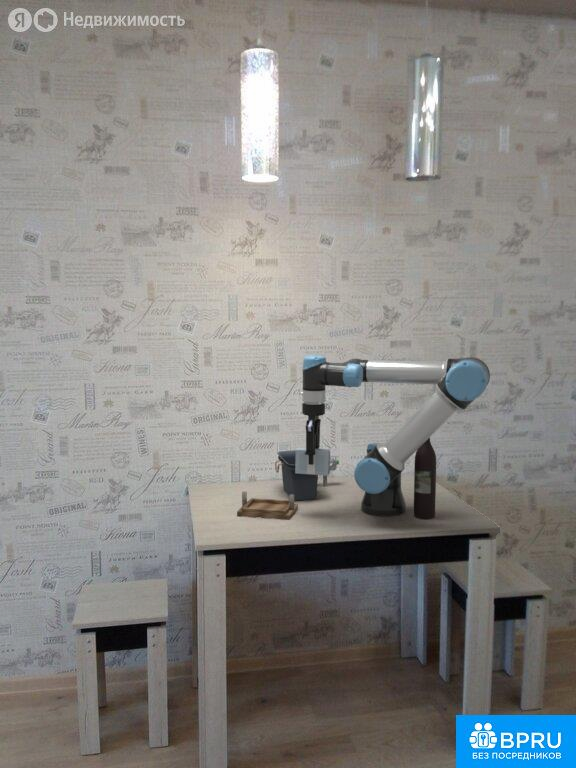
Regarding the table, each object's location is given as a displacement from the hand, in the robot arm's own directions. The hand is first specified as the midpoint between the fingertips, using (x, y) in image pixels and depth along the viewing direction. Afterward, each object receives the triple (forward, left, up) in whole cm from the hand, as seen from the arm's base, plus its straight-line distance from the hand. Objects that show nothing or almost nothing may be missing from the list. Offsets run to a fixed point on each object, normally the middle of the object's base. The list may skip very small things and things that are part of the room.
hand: (312, 471), depth 250 cm
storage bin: (+10, -23, -15) cm, 29 cm away
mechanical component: (+2, -37, -15) cm, 40 cm away
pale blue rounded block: (0, 0, 0) cm, 0 cm away
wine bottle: (-37, -7, -15) cm, 40 cm away
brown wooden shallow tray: (+15, 0, -15) cm, 21 cm away
